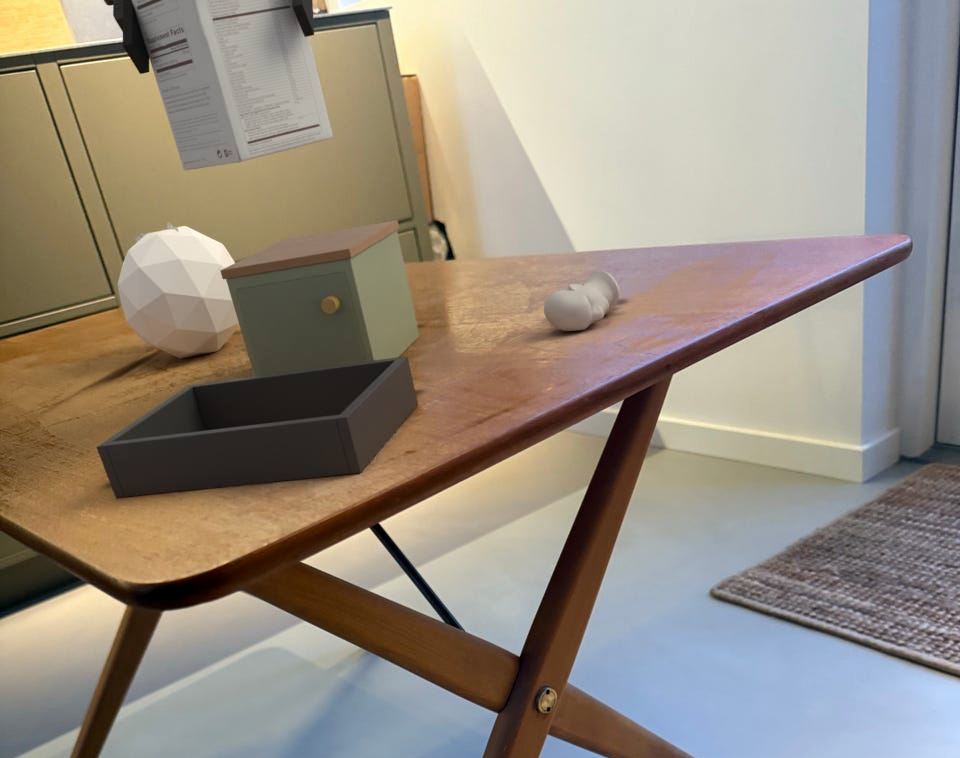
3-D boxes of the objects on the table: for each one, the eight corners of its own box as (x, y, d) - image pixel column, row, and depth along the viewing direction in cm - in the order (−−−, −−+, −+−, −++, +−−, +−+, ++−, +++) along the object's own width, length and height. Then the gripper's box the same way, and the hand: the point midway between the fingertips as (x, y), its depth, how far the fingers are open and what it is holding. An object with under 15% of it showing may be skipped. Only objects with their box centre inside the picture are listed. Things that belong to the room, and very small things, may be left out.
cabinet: (251, 397, 95) (214, 272, 90) (311, 351, 108) (281, 240, 103) (376, 381, 92) (345, 250, 87) (422, 335, 105) (397, 219, 99)
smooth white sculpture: (572, 350, 93) (534, 329, 96) (634, 323, 97) (595, 304, 100) (575, 304, 90) (536, 285, 93) (639, 279, 94) (599, 261, 97)
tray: (115, 498, 76) (95, 446, 74) (203, 430, 88) (188, 385, 86) (360, 473, 70) (346, 416, 68) (418, 405, 83) (407, 355, 81)
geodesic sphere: (72, 323, 116) (88, 207, 107) (159, 291, 127) (180, 183, 117) (175, 398, 115) (200, 288, 105) (254, 359, 125) (284, 256, 116)
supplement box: (274, 148, 89) (214, -84, 81) (337, 138, 83) (279, -115, 75) (179, 172, 84) (105, -75, 76) (238, 163, 78) (164, -107, 69)
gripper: (373, -161, 85) (390, 45, 79) (96, -92, 89) (92, 111, 83) (347, -260, 78) (363, -41, 72) (46, -180, 81) (38, 35, 76)
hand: (218, 41), depth 77 cm, fingers closed on supplement box, 13 cm apart
